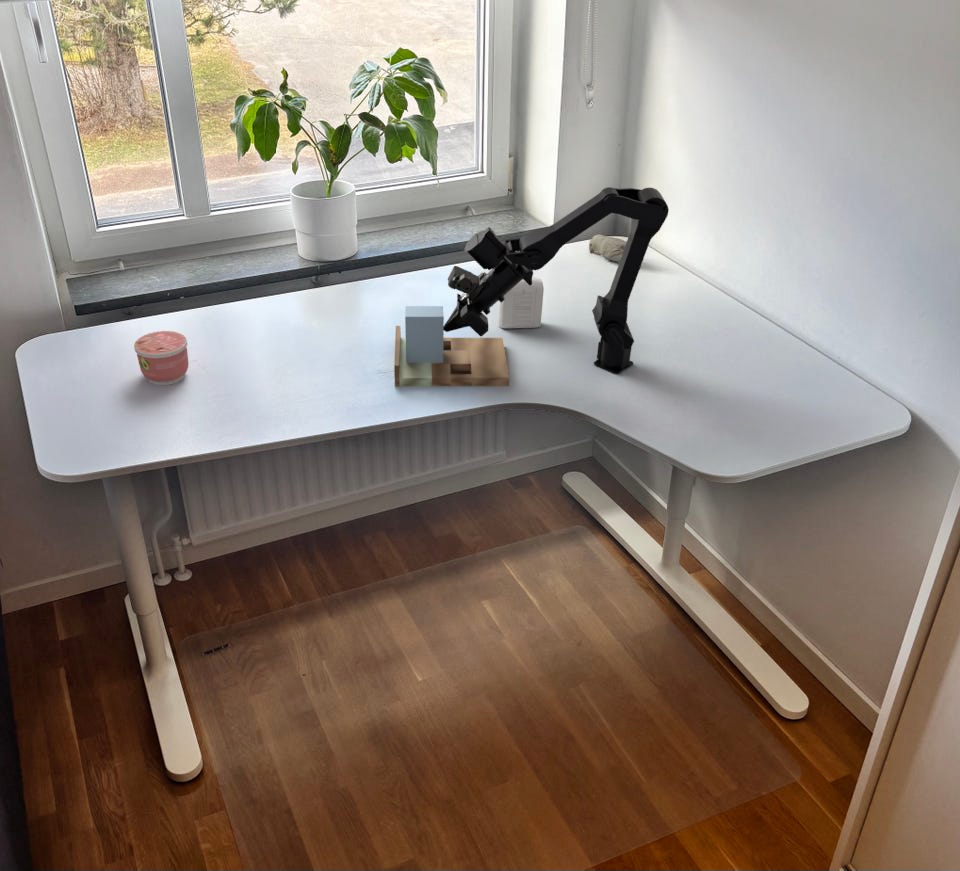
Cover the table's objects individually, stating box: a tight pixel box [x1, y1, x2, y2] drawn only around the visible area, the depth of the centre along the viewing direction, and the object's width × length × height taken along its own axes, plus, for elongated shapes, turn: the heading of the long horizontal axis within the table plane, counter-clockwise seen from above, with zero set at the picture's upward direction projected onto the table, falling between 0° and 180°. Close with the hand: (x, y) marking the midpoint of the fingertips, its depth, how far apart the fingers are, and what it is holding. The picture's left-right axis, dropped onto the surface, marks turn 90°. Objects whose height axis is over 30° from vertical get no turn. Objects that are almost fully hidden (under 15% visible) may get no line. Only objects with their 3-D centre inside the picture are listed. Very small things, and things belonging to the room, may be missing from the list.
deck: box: [393, 325, 510, 387], centre depth 207 cm, size 24×18×5 cm
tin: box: [404, 305, 445, 363], centre depth 204 cm, size 8×5×11 cm, turn 93°
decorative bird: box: [588, 234, 627, 263], centre depth 257 cm, size 5×16×8 cm, turn 44°
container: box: [133, 330, 190, 386], centre depth 199 cm, size 10×10×8 cm
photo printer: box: [497, 276, 545, 329], centre depth 222 cm, size 10×4×12 cm, turn 98°
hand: (444, 329), depth 203 cm, fingers closed, pressing on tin
